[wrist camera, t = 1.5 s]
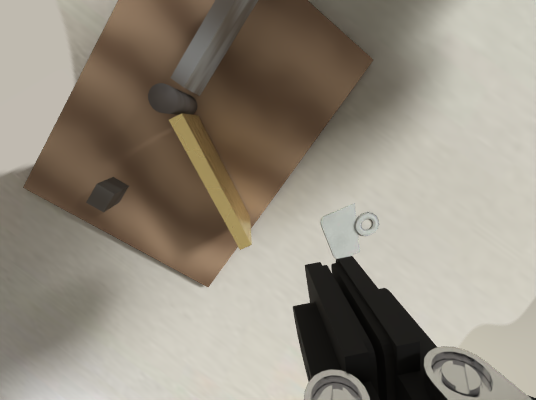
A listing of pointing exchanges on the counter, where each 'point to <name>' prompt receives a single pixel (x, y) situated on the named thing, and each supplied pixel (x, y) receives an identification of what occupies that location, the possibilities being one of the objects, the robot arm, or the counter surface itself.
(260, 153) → the hinge base
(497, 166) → the counter surface
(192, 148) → the bar
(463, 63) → the counter surface
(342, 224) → the mounting bracket
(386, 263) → the counter surface
